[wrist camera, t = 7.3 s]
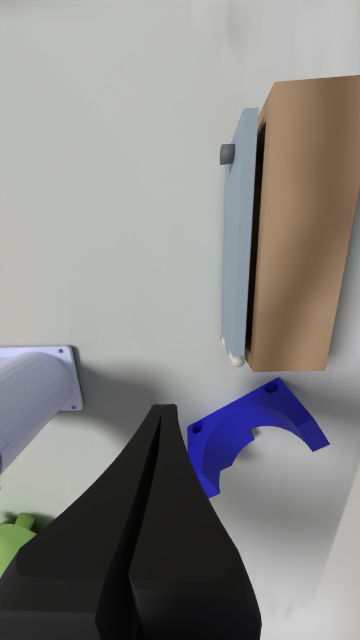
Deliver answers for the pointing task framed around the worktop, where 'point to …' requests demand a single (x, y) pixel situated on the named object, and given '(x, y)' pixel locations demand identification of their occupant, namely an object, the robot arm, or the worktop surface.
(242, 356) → the door
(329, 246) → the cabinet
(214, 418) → the cable clip
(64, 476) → the worktop surface
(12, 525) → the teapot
